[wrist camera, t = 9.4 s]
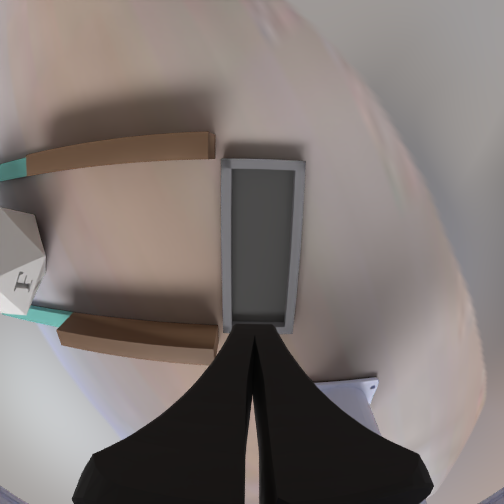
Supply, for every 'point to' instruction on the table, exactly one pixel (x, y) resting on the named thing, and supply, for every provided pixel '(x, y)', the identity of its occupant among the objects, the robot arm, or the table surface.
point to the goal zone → (34, 313)
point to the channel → (119, 329)
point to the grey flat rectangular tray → (261, 240)
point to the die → (19, 261)
